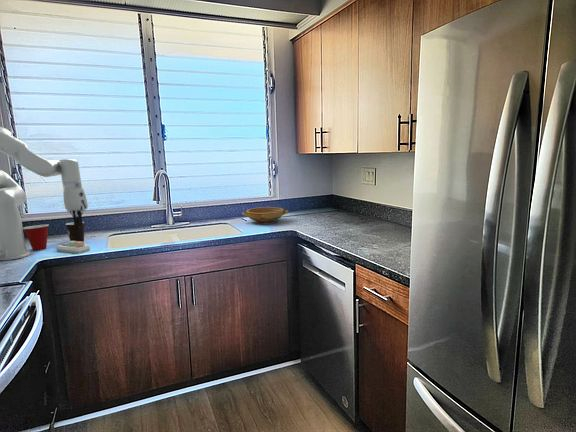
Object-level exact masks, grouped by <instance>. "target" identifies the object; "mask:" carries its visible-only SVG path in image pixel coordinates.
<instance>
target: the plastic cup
mask: <svg viewBox="0 0 576 432" xmlns="http://www.w3.org/2000/svg"><path fill="white" fill-rule="evenodd" d="M49 226H50V224H48V223H47V224H38V225H30V226H29V225H28V226H24V227H23V231H24V232H25V234H26V236H27V239H28V242H29V244H30V247H31V249H32V250H33V251H42V250H45V249H47V248H48V247H47V245H48V230H49Z"/></svg>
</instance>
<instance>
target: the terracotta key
mask: <svg viewBox="0 0 576 432" xmlns="http://www.w3.org/2000/svg"><path fill="white" fill-rule="evenodd" d="M84 245H85V241H83V242H81V241H78V242H75V246H76V247H82V246H84Z"/></svg>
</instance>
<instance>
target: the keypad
mask: <svg viewBox="0 0 576 432" xmlns="http://www.w3.org/2000/svg"><path fill="white" fill-rule="evenodd" d="M56 249H57V250H56V251H57V252H63V253H72V254H79V253H80V254H82V253H86V252H90V251H91V247H90V245H89V244H84V246H82V247H76V246H69V245H68V246H62V244H59V245H56Z"/></svg>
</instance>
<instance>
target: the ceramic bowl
mask: <svg viewBox="0 0 576 432" xmlns="http://www.w3.org/2000/svg"><path fill="white" fill-rule="evenodd" d="M288 213H289V210H288V209H286V210H285V209H284V208H283V207H277V206H276V207H274V206H263V207H253V208H249V209H246V211H242V212H241V215H243V216H245V217H247V218H249V219H250V220H252V221H255V222H256V223H257V224H258V225H265V224H264V223H270V224H274V223H275V221H278V220H279V219H280V218H282V216H284V215H287V214H288ZM273 222H274V223H273Z"/></svg>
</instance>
